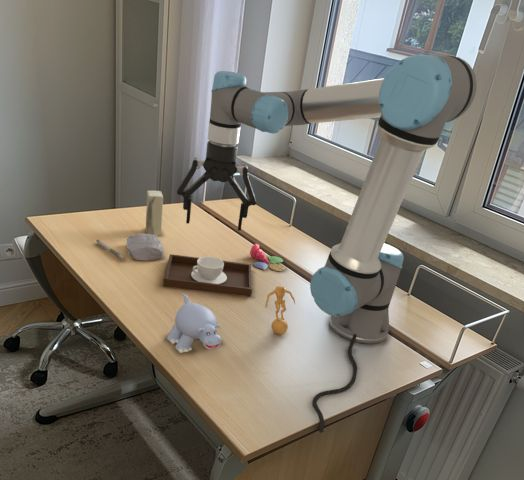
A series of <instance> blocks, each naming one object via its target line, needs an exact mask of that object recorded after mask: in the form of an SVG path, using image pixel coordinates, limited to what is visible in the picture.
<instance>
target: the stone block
mask: <svg viewBox="0 0 524 480" xmlns="http://www.w3.org/2000/svg"><path fill="white" fill-rule="evenodd" d="M126 249H127V253H128V255H129V257H131V258H132V259H134V260H139V261H143V262H145V261H156V260H157V261H158V260H162V259H163V258H164V246H163V243H162V242H161V241H160V239H159V235H157V234H155V235H151V234H147V233H135V234H130V235H129V236H127V237H126Z"/></svg>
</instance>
